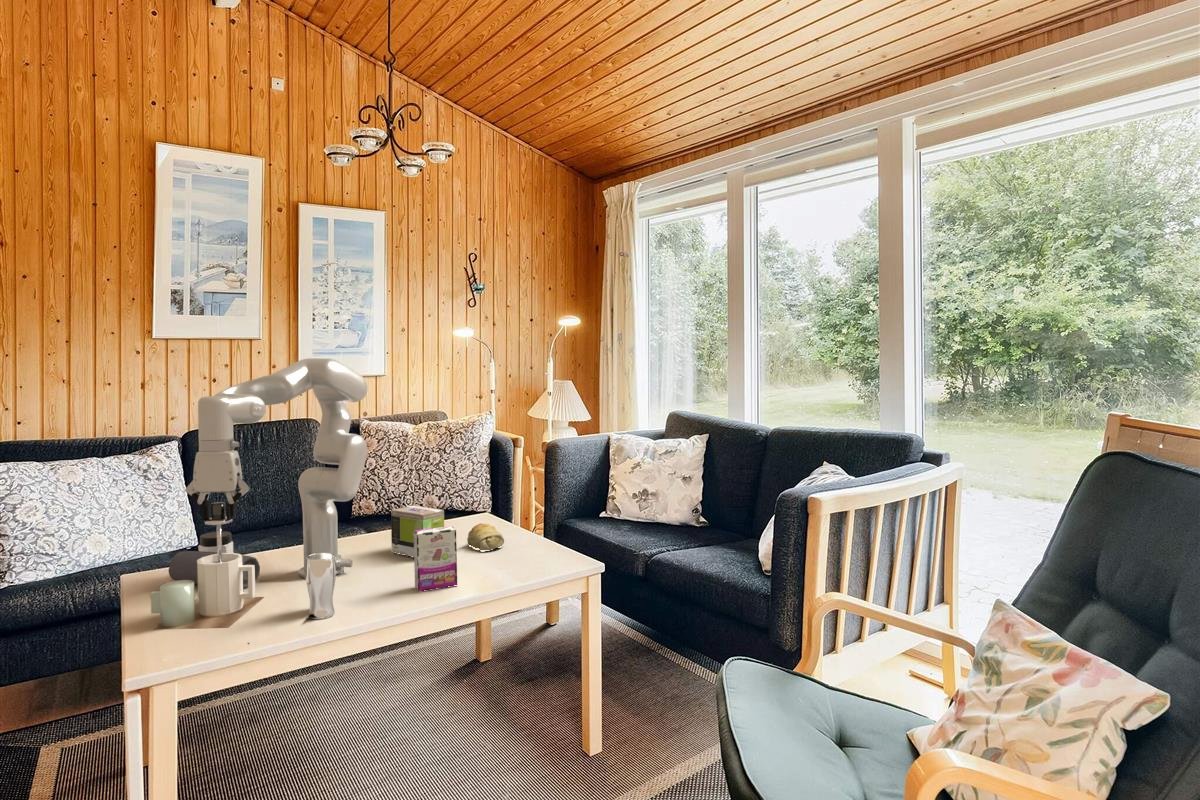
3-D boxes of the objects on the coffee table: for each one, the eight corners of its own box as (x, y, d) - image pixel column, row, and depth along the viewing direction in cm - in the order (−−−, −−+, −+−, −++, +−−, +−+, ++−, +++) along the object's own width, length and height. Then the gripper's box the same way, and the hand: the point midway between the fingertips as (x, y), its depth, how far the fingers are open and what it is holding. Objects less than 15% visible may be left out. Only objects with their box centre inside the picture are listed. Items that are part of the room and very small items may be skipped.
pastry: (473, 541, 245) (473, 518, 244) (508, 542, 244) (508, 520, 243) (461, 552, 231) (461, 528, 231) (498, 553, 230) (497, 529, 229)
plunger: (239, 564, 177) (237, 500, 176) (227, 572, 170) (225, 505, 169) (212, 565, 176) (210, 500, 175) (199, 573, 170) (197, 506, 169)
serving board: (264, 601, 184) (264, 596, 184) (228, 632, 163) (228, 627, 163) (197, 602, 182) (197, 598, 182) (152, 634, 161) (152, 629, 161)
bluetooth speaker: (262, 585, 196) (261, 550, 195) (238, 596, 187) (237, 560, 186) (194, 579, 201) (193, 545, 201) (167, 590, 192) (166, 554, 192)
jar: (200, 581, 200) (199, 539, 199) (198, 573, 207) (197, 533, 206) (235, 575, 205) (234, 535, 204) (232, 568, 212) (231, 529, 211)
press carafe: (262, 602, 179) (260, 552, 179) (246, 616, 170) (244, 563, 169) (210, 603, 178) (208, 553, 178) (191, 617, 169) (189, 564, 168)
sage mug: (200, 615, 170) (199, 579, 169) (186, 627, 163) (184, 589, 162) (160, 616, 169) (159, 580, 169) (144, 628, 162) (143, 590, 162)
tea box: (445, 553, 229) (445, 509, 228) (422, 561, 221) (422, 514, 220) (413, 546, 237) (413, 503, 236) (390, 553, 229) (389, 509, 228)
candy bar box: (452, 581, 201) (452, 525, 200) (457, 586, 196) (457, 529, 195) (413, 587, 196) (413, 529, 195) (417, 592, 191) (417, 533, 190)
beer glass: (311, 610, 177) (310, 552, 176) (339, 609, 178) (339, 551, 177) (302, 620, 170) (301, 560, 169) (331, 619, 171) (330, 559, 170)
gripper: (258, 444, 176) (260, 515, 177) (188, 444, 175) (190, 516, 176) (246, 448, 168) (247, 522, 170) (172, 448, 167) (174, 523, 168)
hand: (218, 518), depth 173 cm, fingers closed on plunger, 5 cm apart
